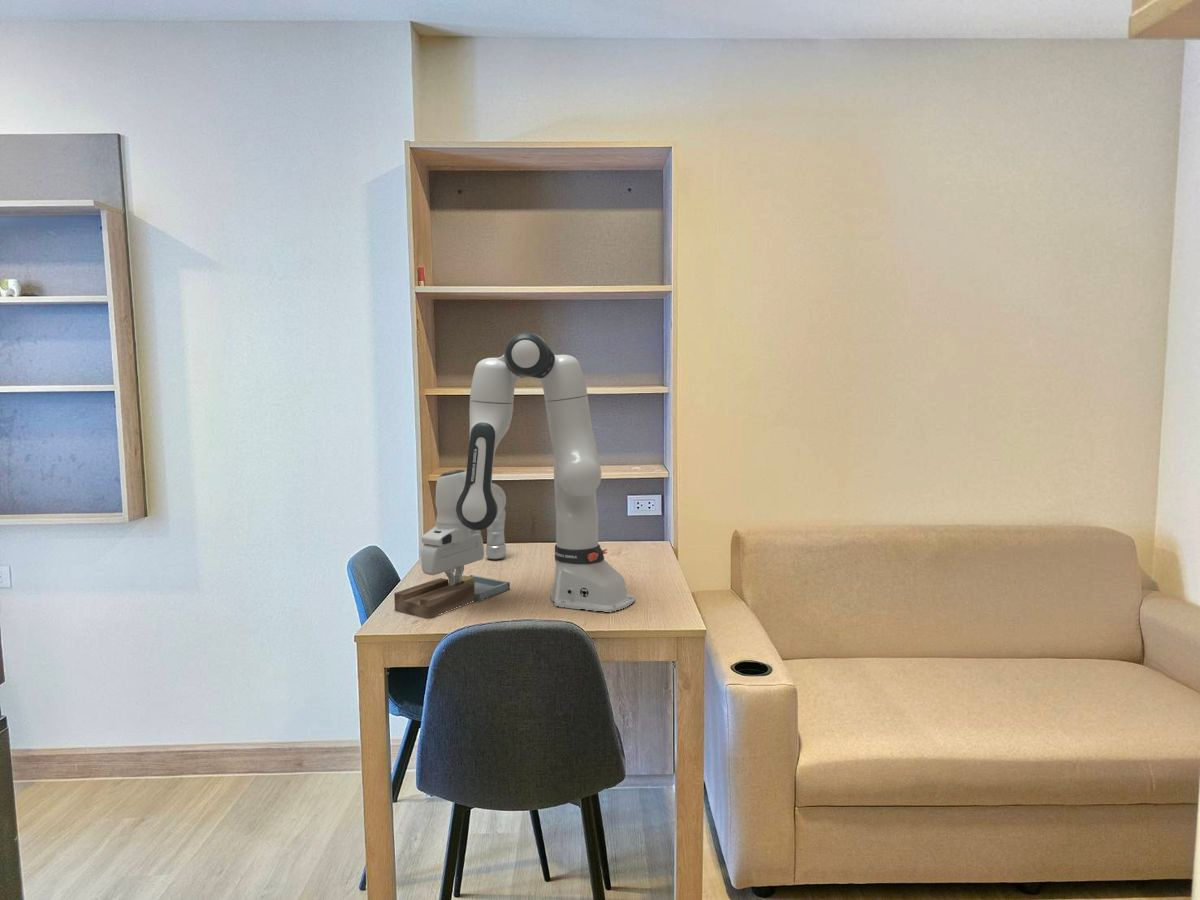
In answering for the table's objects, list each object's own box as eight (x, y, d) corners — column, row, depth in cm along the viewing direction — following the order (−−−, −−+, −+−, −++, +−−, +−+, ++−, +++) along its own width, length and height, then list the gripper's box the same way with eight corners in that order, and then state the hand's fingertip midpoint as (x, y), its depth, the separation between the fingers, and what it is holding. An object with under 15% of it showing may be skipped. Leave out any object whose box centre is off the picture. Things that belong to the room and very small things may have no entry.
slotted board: (474, 601, 193) (473, 584, 192) (429, 618, 179) (428, 600, 179) (440, 594, 199) (440, 577, 199) (394, 610, 186) (394, 593, 185)
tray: (509, 589, 204) (509, 582, 203) (477, 601, 193) (477, 594, 192) (471, 581, 211) (471, 574, 211) (438, 593, 200) (438, 586, 200)
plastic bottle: (481, 559, 236) (480, 497, 234) (495, 555, 241) (494, 494, 239) (496, 562, 232) (495, 499, 230) (510, 558, 238) (509, 496, 236)
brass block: (464, 595, 196) (474, 592, 200) (464, 581, 196) (474, 577, 199) (453, 593, 199) (463, 589, 202) (453, 578, 198) (463, 575, 202)
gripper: (471, 523, 204) (472, 572, 205) (416, 538, 187) (418, 591, 188) (489, 526, 201) (490, 576, 202) (434, 541, 183) (436, 595, 185)
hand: (455, 583), depth 195 cm, fingers closed
